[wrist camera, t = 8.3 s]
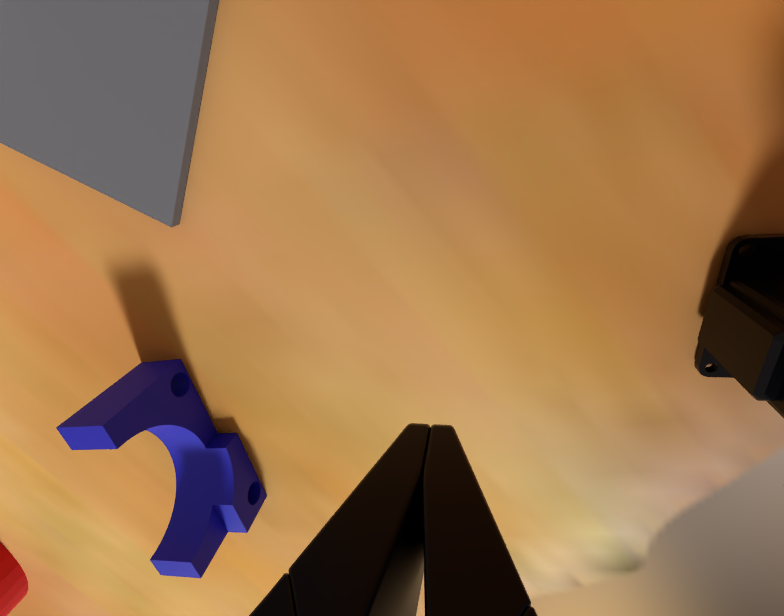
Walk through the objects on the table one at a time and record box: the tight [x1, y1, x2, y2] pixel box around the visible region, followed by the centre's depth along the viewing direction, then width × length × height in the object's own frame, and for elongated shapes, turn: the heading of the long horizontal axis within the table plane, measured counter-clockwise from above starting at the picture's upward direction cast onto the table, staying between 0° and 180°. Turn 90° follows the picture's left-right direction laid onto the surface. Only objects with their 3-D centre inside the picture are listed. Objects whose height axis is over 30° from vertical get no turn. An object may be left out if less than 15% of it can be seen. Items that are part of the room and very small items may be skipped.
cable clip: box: [56, 359, 267, 578], centre depth 25 cm, size 12×4×6 cm, turn 12°
